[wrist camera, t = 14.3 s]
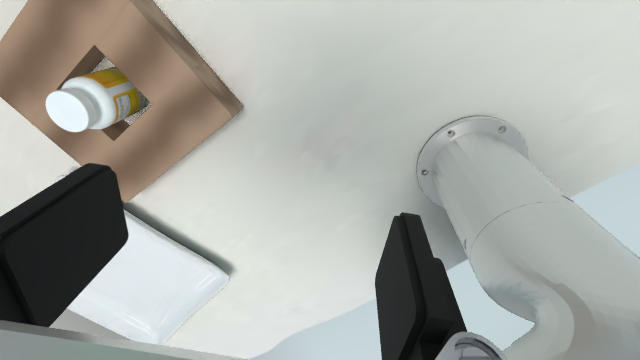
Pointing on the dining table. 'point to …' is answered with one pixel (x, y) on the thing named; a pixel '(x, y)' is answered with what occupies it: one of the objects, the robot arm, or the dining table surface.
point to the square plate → (149, 286)
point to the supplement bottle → (94, 101)
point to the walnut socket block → (139, 68)
